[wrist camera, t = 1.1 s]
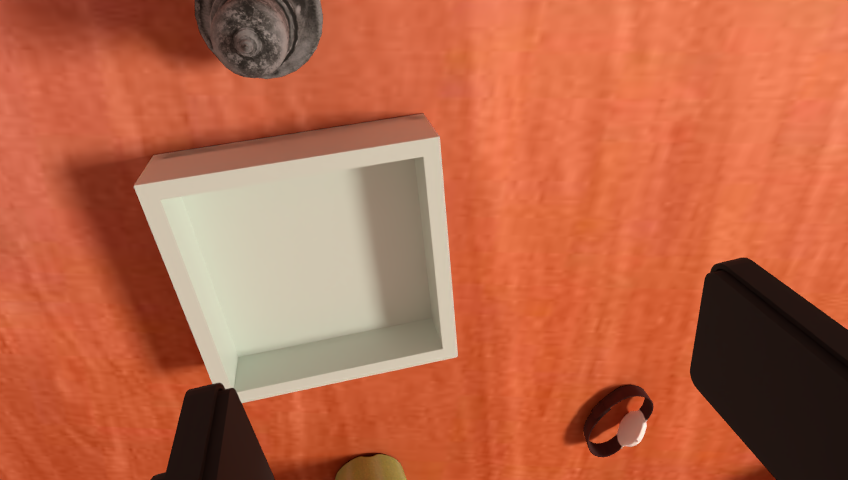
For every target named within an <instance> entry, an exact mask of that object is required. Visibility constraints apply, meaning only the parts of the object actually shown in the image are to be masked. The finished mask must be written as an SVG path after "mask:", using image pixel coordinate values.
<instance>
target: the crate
mask: <svg viewBox="0 0 848 480" xmlns="http://www.w3.org/2000/svg"><path fill="white" fill-rule="evenodd" d="M134 188H135V191H136V194H137V196H138V199H139V201H140V204H141V206H142V209H143V211H144V214H145V216H146V219H147V221H148V224H149V226H150V229H151V231H152V234H153V236H154V239H155V241H156V244H157V246H158V249H159V251H160V254H161V256H162V259H163V261H164V264H165V266H166V269H167V271H168V274H169V276H170V279H171V281H172V284H173V286H174V289H175V291H176V294H177V296H178V299H179V301H180V304H181V306H182V309H183V311H184V314H185V316H186V319H187V321H188V324H189V326H190V329H191V331H192V334H193V336H194V339H195V341H196V344H197V346H198V349H199V351H200V354H201V356H202V359H203V361H204V364H205V366H206V369H207V371H208V374H209V376H210V379H211V381H212V384H215V383H222V384H223V385H224V387H225V389H229V388H234V389H235V390H236V392H237V394H238V396H239V399H240V401H241V403H245V402H249V401H254V400H259V399H263V398H268V397H273V396H277V395H282V394H287V393H291V392H296V391H301V390H305V389H310V388H315V387H319V386H324V385H329V384H333V383H338V382H343V381H347V380H352V379H357V378H361V377H366V376H371V375H375V374H380V373H385V372H390V371H394V370H399V369H404V368H408V367H413V366H418V365H422V364H427V363H432V362H436V361H441V360H446V359H450V358H455V357H458V352H457V340H456V328H455V316H454V303H453V291H452V279H451V267H450V255H449V243H448V231H447V219H446V207H445V195H444V182H443V170H442V158H441V146H440V136H439V135H438V133H437V132H436V131H435V129H434V128H433V126H432V125H431V123H430V122H429V121H428V119H427V118H426V116H425V115H424V113H422V114H416V115H409V116H403V117H396V118H390V119H384V120H377V121H371V122H364V123H358V124H351V125H345V126H338V127H332V128H325V129H319V130H312V131H306V132H299V133H293V134H286V135H280V136H274V137H267V138H261V139H254V140H248V141H241V142H235V143H228V144H222V145H215V146H209V147H202V148H196V149H189V150H183V151H176V152H170V153H163V154H157V155H153V157H152V158H151V160H150V161H149V163H148V164H147V166H146V167H145V169H144V170H143V172H142V173H141V175H140V176H139V178H138V180H137V181H136V183H135V184H134Z"/></svg>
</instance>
